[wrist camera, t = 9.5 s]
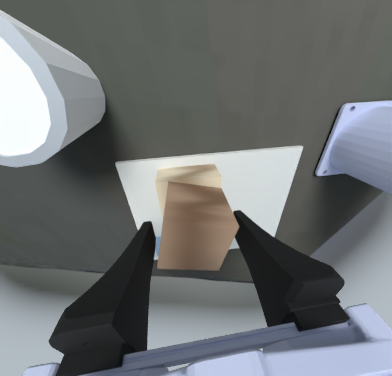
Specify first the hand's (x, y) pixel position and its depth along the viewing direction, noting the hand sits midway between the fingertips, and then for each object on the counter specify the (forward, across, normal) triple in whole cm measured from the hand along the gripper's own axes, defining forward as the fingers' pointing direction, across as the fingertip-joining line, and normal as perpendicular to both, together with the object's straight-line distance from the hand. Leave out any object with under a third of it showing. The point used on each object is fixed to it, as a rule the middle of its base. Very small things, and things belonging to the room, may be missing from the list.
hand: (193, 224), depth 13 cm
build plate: (+6, -3, +4) cm, 8 cm away
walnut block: (+2, 0, 0) cm, 2 cm away
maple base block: (+6, 0, 0) cm, 6 cm away
